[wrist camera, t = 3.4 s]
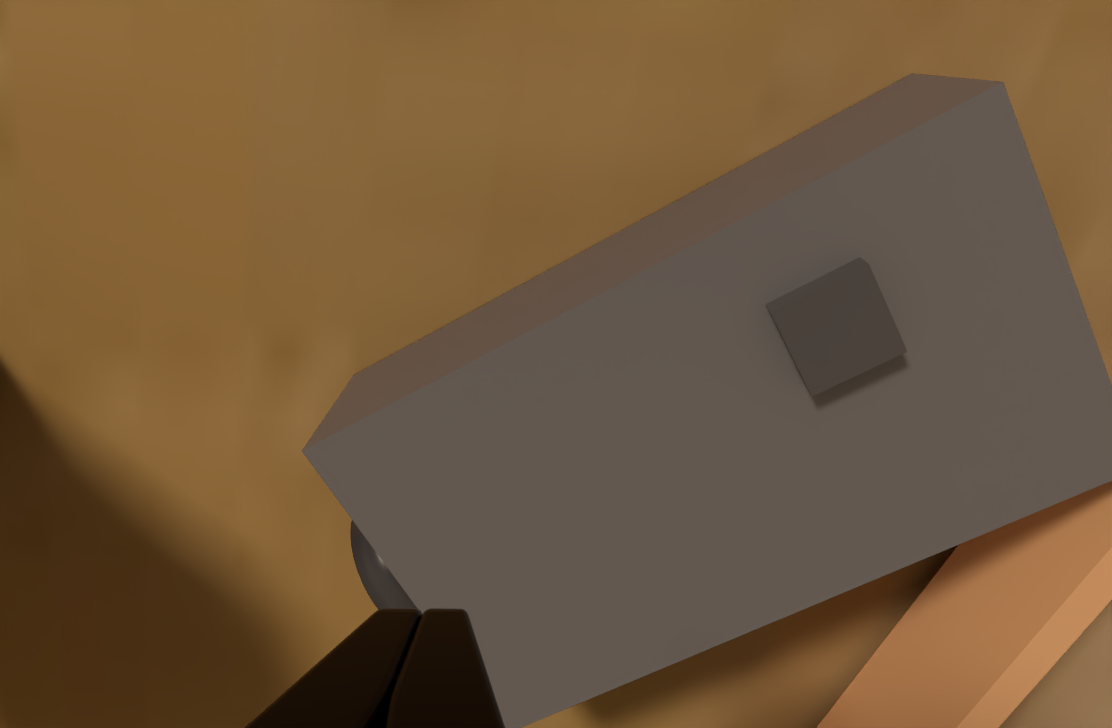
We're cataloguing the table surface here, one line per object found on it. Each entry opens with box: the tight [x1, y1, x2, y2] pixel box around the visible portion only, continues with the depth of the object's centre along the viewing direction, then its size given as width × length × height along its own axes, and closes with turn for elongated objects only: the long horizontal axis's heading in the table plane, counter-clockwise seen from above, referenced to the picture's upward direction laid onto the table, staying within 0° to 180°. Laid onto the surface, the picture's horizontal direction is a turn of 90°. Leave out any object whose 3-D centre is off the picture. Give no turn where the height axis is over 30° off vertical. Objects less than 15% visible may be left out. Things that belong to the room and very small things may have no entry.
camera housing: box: [302, 74, 1112, 728], centre depth 18 cm, size 15×8×4 cm, turn 119°
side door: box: [817, 481, 1112, 728], centre depth 20 cm, size 14×2×4 cm, turn 154°
